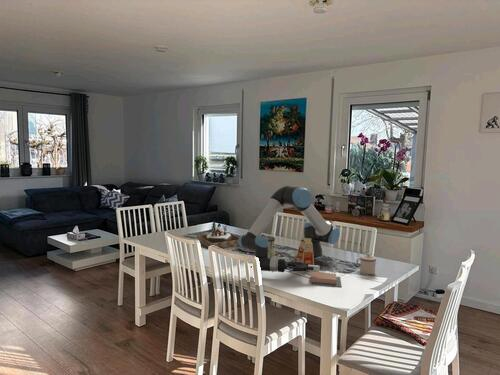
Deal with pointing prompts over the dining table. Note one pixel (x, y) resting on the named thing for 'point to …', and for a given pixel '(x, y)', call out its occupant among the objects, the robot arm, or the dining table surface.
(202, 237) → the diorama tray
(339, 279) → the mat
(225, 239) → the miniature diorama
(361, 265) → the teacup with lid
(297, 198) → the robot arm
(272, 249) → the coffee can
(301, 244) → the milk carton
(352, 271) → the dining table surface
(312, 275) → the tile
